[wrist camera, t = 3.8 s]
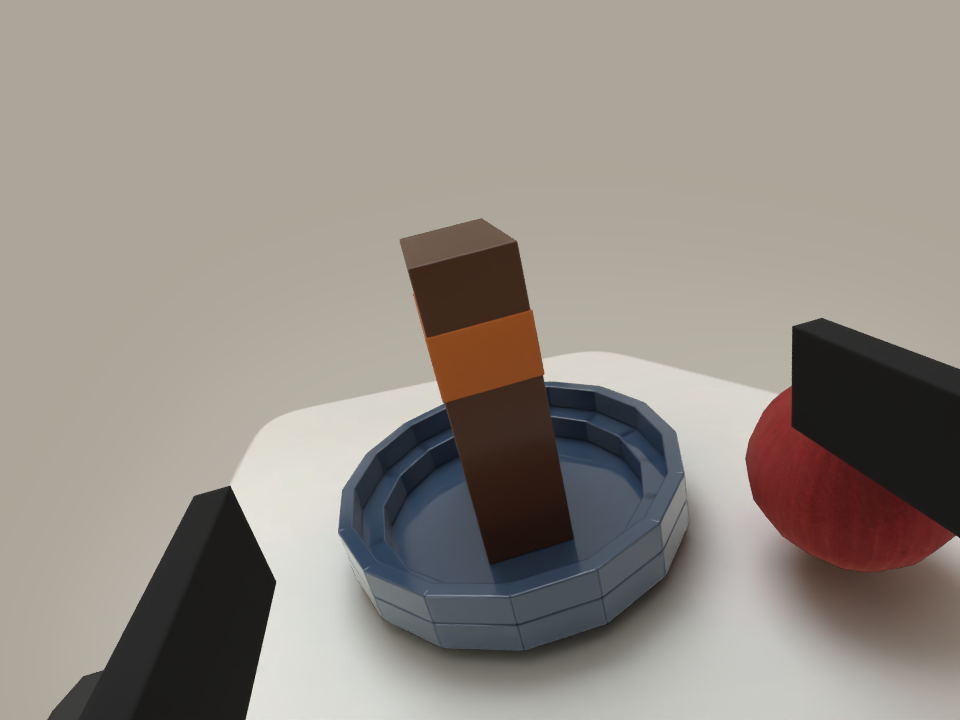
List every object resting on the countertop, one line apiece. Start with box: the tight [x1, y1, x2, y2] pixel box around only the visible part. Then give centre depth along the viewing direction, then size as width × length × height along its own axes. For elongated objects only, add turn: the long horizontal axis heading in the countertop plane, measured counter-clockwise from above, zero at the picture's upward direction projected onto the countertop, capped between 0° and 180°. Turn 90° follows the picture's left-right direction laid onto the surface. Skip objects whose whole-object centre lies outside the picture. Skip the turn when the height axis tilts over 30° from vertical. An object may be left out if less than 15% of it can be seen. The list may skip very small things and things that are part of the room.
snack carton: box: [400, 219, 574, 565], centre depth 22 cm, size 4×6×12 cm, turn 11°
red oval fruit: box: [745, 386, 956, 573], centre depth 17 cm, size 6×6×8 cm
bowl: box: [338, 382, 689, 651], centre depth 24 cm, size 14×14×3 cm
